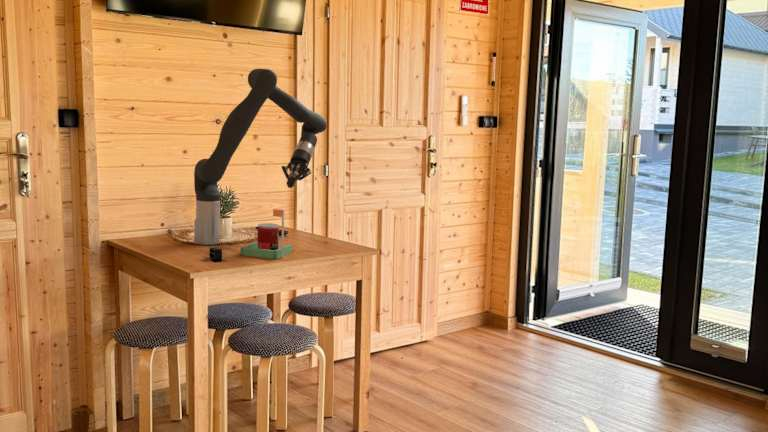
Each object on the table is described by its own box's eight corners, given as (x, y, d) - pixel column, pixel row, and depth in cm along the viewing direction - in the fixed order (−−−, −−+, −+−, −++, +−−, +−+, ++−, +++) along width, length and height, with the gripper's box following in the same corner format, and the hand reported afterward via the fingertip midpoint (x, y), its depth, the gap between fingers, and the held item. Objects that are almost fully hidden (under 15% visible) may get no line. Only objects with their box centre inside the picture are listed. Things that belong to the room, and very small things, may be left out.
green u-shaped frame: (240, 255, 264) (241, 207, 262) (257, 248, 278) (258, 202, 275) (279, 259, 260) (281, 211, 257) (295, 252, 274) (297, 206, 271)
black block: (198, 258, 258) (199, 245, 258) (217, 256, 263) (217, 244, 262) (214, 265, 249) (214, 252, 248) (233, 263, 253) (233, 250, 253)
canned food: (273, 256, 265) (274, 227, 263) (253, 254, 267) (254, 225, 265) (281, 252, 272) (282, 224, 271) (261, 250, 274) (262, 222, 272)
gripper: (285, 147, 294) (271, 179, 284) (315, 149, 290) (302, 181, 281) (290, 159, 300) (276, 191, 290) (319, 161, 296) (307, 193, 286)
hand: (289, 186), depth 285 cm, fingers closed
